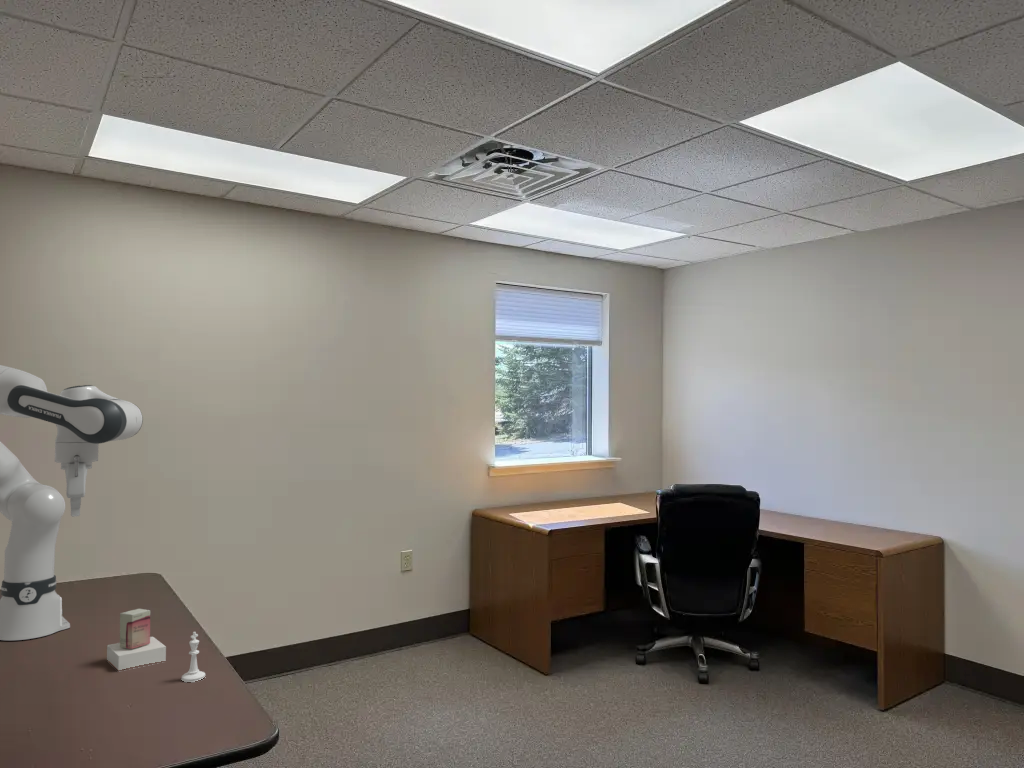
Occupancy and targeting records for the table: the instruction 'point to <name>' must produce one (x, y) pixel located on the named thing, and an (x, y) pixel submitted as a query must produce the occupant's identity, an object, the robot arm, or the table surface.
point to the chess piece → (193, 663)
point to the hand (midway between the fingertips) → (75, 513)
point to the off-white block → (136, 654)
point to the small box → (134, 628)
